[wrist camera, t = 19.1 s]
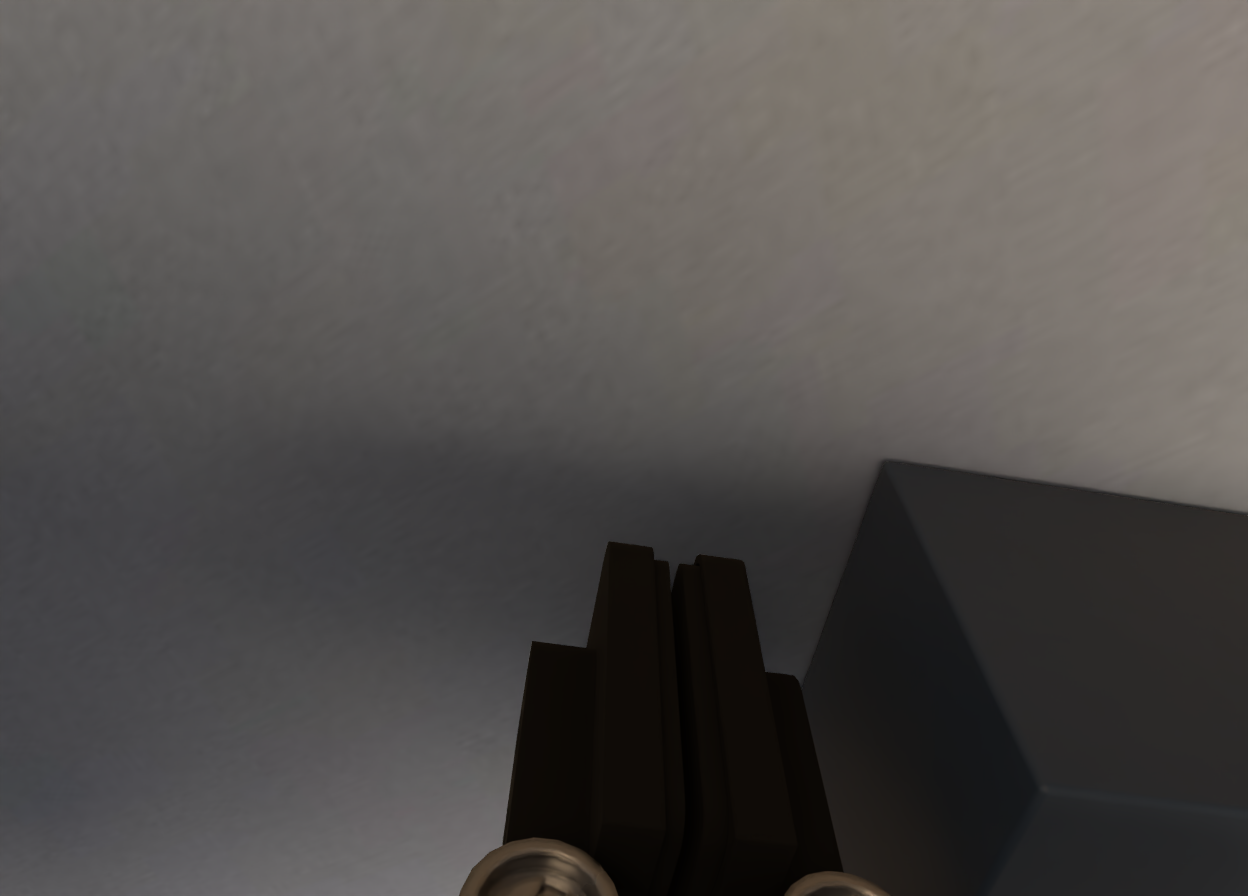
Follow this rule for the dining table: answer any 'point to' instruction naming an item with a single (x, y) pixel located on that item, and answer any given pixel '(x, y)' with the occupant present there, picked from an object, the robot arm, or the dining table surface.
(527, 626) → the dining table surface
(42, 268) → the dining table surface
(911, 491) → the slate block
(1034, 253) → the dining table surface
